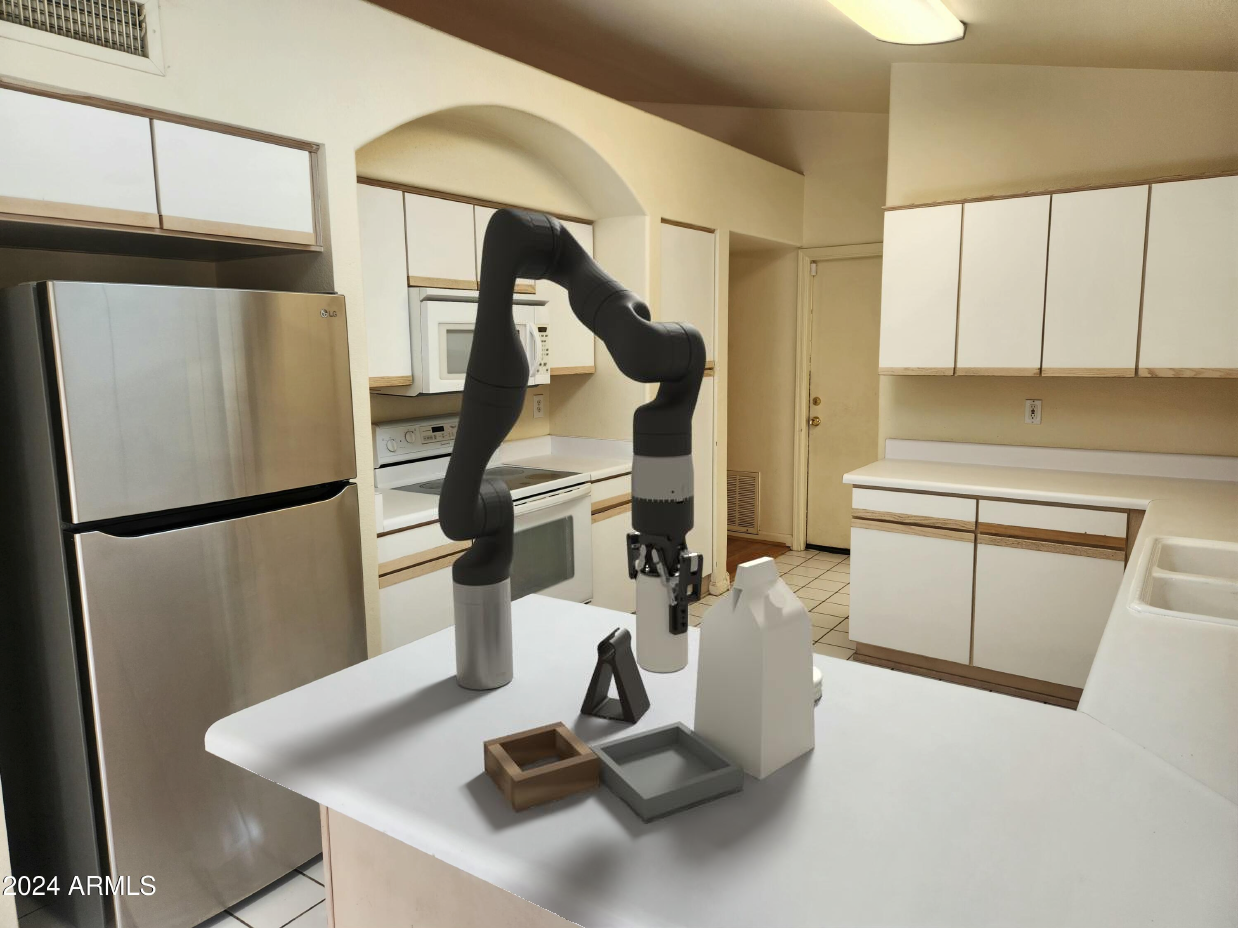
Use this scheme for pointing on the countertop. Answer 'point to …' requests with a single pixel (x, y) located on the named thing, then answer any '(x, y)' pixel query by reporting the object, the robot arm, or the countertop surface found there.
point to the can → (657, 628)
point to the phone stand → (616, 682)
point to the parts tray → (666, 771)
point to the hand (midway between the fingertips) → (663, 624)
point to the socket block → (543, 782)
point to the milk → (756, 672)
